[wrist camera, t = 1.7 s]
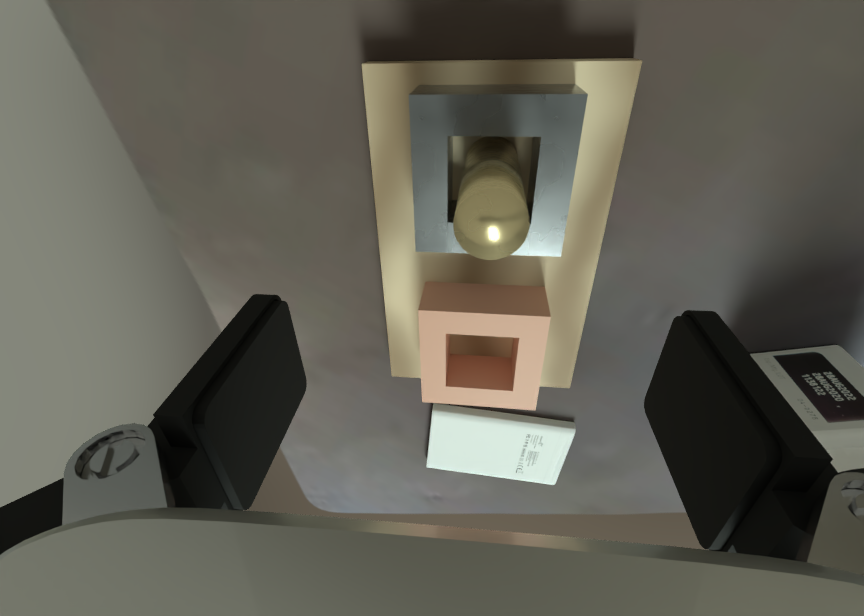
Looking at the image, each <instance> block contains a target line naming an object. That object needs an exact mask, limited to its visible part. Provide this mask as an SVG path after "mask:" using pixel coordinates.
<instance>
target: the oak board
mask: <svg viewBox="0 0 864 616" xmlns="http://www.w3.org/2000/svg"><path fill="white" fill-rule="evenodd" d="M641 64H642V60H639V59H635V58H607V59H526V60H444V61H368V62H366V63H363V64H362V72H363V82H364V93H365V103H366V114H367V124H368V134H369V145H370V155H371V166H372V176H373V186H374V197H375V207H376V218H377V228H378V238H379V249H380V259H381V270H382V280H383V290H384V301H385V311H386V322H387V332H388V342H389V353H390V363H391V374H392V376H397V377H412V378H421V362H420V340H419V317H418V309H419V305H420V301H421V297H422V293H423V289H424V285H425V282H448V283H471V284H495V285H518V286H541V287H545V289H546V294H547V299H548V305H549V310H550V315H551V319H550V325H549V331H548V337H547V343H546V350H545V356H544V362H543V368H542V374H541V380H540V386H545V387H560V388H570V385H571V380H572V375H573V371H574V366H575V362H576V357H577V353H578V348H579V344H580V339H581V335H582V330H583V326H584V321H585V317H586V312H587V308H588V303H589V299H590V294H591V290H592V285H593V281H594V276H595V272H596V267H597V263H598V258H599V253H600V249H601V244H602V240H603V235H604V231H605V226H606V222H607V217H608V213H609V208H610V204H611V199H612V195H613V190H614V186H615V181H616V177H617V172H618V168H619V163H620V159H621V154H622V150H623V145H624V141H625V136H626V131H627V127H628V122H629V118H630V113H631V109H632V104H633V100H634V95H635V91H636V86H637V82H638V77H639V73H640V68H641ZM489 84H576V85H577V86H579V87H580V88H581V89H582V90H584V91H585V92H586V93H587V94H588V97H587V103H586V109H585V115H584V121H583V127H582V133H581V139H580V145H579V151H578V157H577V163H576V169H575V175H574V181H573V187H572V193H571V199H570V205H569V211H568V217H567V223H566V229H565V235H564V241H563V247H562V253H561V257H551V256H524V255H509V256H507V257H504V258H501V259H496V260H484V259H479V258H477V257H474V256H472V255H470V254H468V253H440V252H416V250H415V227H414V205H413V182H412V160H411V137H410V115H409V94H410V93H411V92H412V91H413V90H414V89H415V88H416V87H418V86H419V85H489ZM482 137H485V136H453V194H452V200H458V195H459V190H460V184H461V179H462V174H463V169H464V163H465V158H466V154H467V152H468V150H469V148H470V147H471V146H472V144H473V143H474V142H476V141H477V140H478V139H480V138H482ZM500 137H501V136H500ZM503 138H505V139H507V140H508V141H509V142H510V143H511V144H512V145H513V146H514V148H515V150H516V152H517V155H518V160H519V166H520V171H521V177H522V182H523V187H524V193H525V198H526V201H527V193H528V183H529V174H530V165H531V156H532V146H533V137H503ZM512 345H513V337H495V336H478V335H460V334H450V354H459V355H475V356H491V357H508V358H511V354H512Z"/></svg>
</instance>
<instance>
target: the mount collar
mask: <svg viewBox="0 0 864 616" xmlns="http://www.w3.org/2000/svg"><path fill="white" fill-rule="evenodd" d="M587 97H588V94H587V93H586V92H585V91H584V90H582V89H581V88H580V87H579V86H577V85H576V84H489V85H419V86H418V87H416V88H415V89H414V90H413V91H412V92H411V93H410V94H409V115H410V137H411V160H412V182H413V205H414V227H415V250H416V252H440V253H467V252H466V251H465V250H464V249H463V248H462V247H461V246H460V245H459V243H458V242H457V240H456V237H455V234H454V230H453V222H454V216H455V211H456V205H457V200H452V194H453V136H501V137H533V146H532V156H531V165H530V174H529V183H528V193H527V201H526V204H527V209H528V214H529V221H530V226H529V232H528V235H527V238H526V240H525V241H524V243H523V244H522V246H521V247H520V248H519V249H518V250H517V251H515V252H514V253H513V254H511V255H524V256H551V257H561V253H562V247H563V241H564V235H565V229H566V223H567V217H568V211H569V205H570V199H571V193H572V187H573V181H574V175H575V169H576V163H577V157H578V151H579V145H580V139H581V133H582V127H583V121H584V115H585V109H586V103H587ZM468 254H469V253H468Z"/></svg>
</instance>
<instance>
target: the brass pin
mask: <svg viewBox="0 0 864 616" xmlns="http://www.w3.org/2000/svg"><path fill="white" fill-rule="evenodd" d="M529 226H530V221H529V214H528V209H527V204H526V198H525V193H524V187H523V182H522V177H521V171H520V166H519V160H518V155H517V152H516V150H515V148H514V146H513V145H512V144H511V143H510V142H509V141H508V140H507V139H505V138H503V137H500V136H485V137H482V138H480V139H478V140H477V141H476V142H474V143H473V144H472V146H471V147H470V148H469V150H468V152H467V154H466V158H465V163H464V169H463V174H462V179H461V184H460V190H459V195H458V200H457V205H456V211H455V216H454V222H453V230H454V234H455V237H456V240H457V242H458V243H459V245H460V246H461V247H462V248H463V249H464V250H465V251H466V252H467V253H469V254H470V255H472V256H474V257H477V258H479V259H484V260H496V259H501V258H504V257H507V256H509V255H511V254H513V253H514V252H515V251H517V250H518V249H519V248H520V247H521V246H522V244H523V243H524V241H525V240H526V238H527V235H528V232H529Z"/></svg>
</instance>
